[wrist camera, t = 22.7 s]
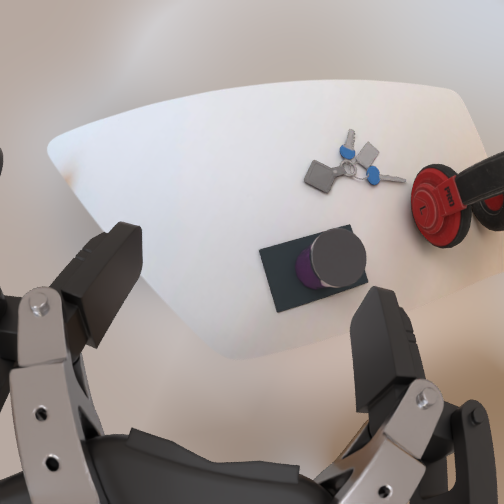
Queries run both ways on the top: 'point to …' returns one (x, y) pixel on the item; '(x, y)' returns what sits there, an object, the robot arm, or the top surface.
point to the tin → (331, 260)
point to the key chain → (325, 175)
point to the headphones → (458, 200)
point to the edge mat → (294, 274)
